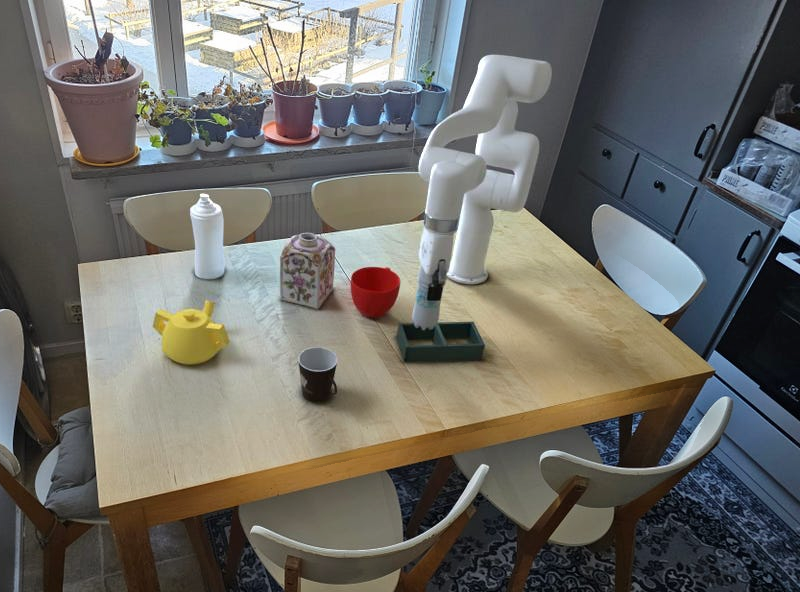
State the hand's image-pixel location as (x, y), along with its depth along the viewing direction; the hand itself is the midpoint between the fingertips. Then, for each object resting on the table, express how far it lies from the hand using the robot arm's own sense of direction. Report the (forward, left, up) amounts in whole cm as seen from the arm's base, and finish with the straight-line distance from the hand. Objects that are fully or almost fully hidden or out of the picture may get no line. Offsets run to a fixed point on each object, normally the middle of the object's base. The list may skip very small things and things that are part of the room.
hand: (429, 290), depth 148 cm
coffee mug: (+17, -27, -17) cm, 37 cm away
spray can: (-38, -53, -17) cm, 68 cm away
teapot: (-4, -55, -17) cm, 58 cm away
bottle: (0, 0, -10) cm, 10 cm away
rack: (0, +5, -17) cm, 18 cm away
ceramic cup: (-19, -8, -17) cm, 27 cm away
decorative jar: (-26, -26, -17) cm, 41 cm away
